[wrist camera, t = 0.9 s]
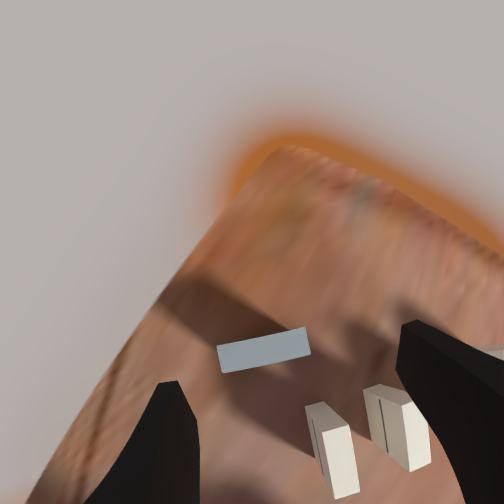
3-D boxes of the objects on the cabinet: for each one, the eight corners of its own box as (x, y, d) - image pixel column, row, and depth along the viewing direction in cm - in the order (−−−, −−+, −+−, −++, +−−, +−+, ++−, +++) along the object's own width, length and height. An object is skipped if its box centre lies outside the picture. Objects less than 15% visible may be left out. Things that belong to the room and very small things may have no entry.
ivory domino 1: (323, 401, 23) (349, 424, 15) (334, 453, 21) (360, 491, 14) (304, 406, 23) (321, 432, 15) (315, 458, 21) (334, 499, 14)
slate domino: (296, 351, 24) (311, 354, 17) (234, 364, 24) (222, 373, 16) (291, 331, 25) (304, 326, 17) (230, 344, 25) (216, 345, 17)
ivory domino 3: (468, 346, 23) (524, 341, 16) (475, 393, 22) (529, 400, 14) (456, 352, 23) (511, 349, 16) (463, 400, 22) (517, 409, 14)
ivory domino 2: (379, 383, 23) (424, 396, 15) (388, 434, 22) (431, 462, 14) (362, 389, 23) (401, 405, 15) (371, 441, 22) (409, 472, 14)
